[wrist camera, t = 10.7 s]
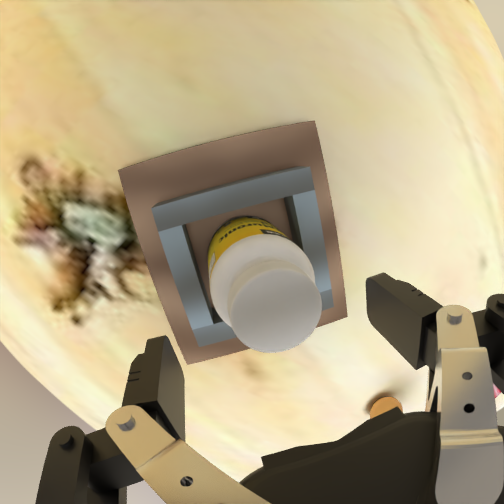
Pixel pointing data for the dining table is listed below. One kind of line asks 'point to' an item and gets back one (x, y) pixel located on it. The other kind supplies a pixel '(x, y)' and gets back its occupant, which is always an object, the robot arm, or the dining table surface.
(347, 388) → the dining table surface
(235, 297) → the supplement bottle
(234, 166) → the cradle board
